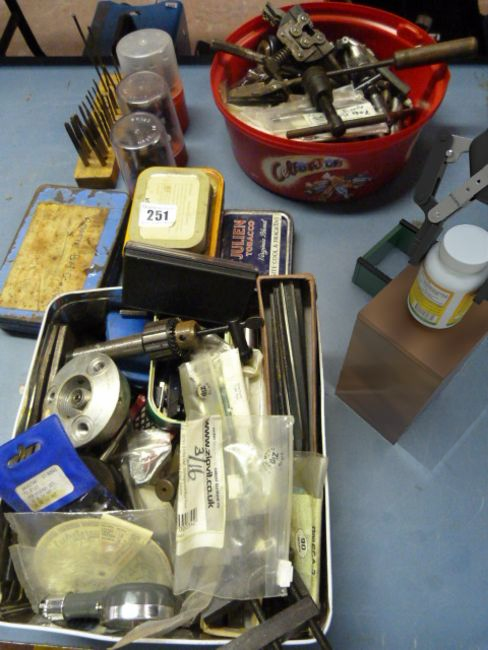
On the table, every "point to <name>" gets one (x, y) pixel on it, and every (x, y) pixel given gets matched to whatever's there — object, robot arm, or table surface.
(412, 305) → the supplement bottle
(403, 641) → the table surface
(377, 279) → the tray
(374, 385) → the brown rectangular block
